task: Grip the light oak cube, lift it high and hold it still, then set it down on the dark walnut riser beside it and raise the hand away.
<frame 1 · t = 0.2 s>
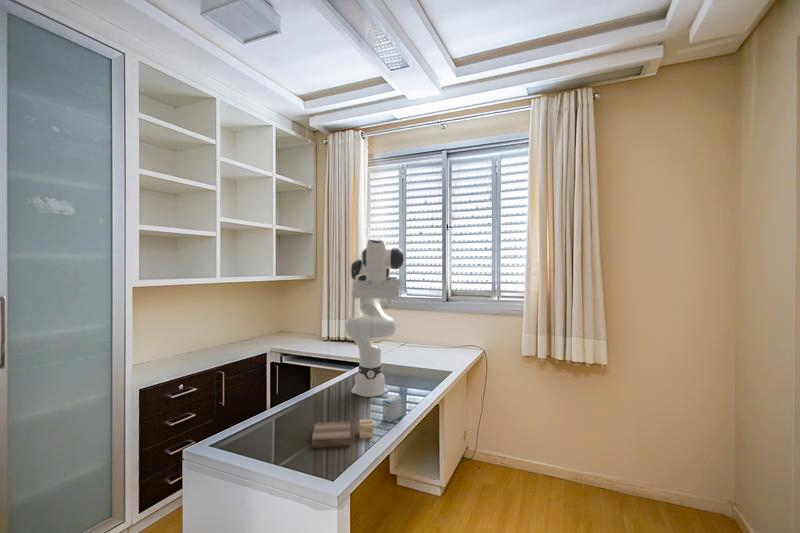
hand: (375, 308, 160), 47 cm above the table, tool pointing down, fingers open, 8 cm apart
medicine box: (392, 418, 161), on the table
oak cube: (365, 435, 146), on the table
walnut riser: (331, 437, 143), on the table
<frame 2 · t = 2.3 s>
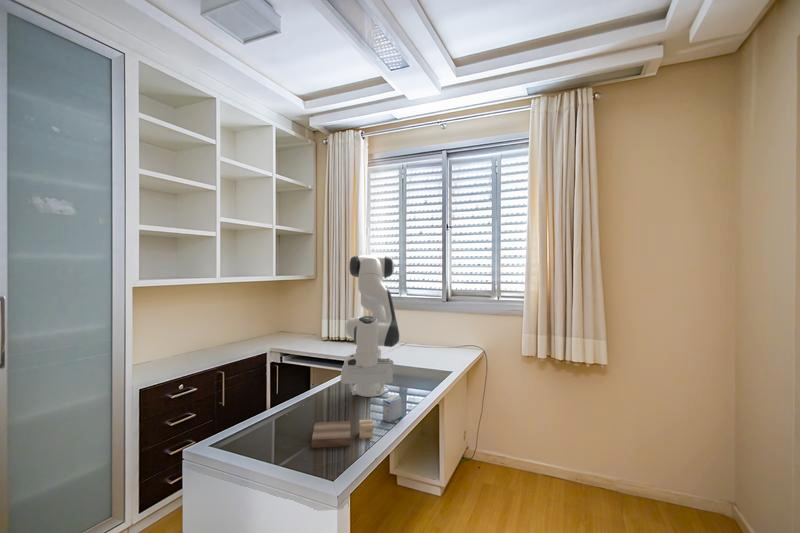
hand: (366, 394, 145), 16 cm above the table, tool pointing down, fingers open, 8 cm apart
nothing on the table moved.
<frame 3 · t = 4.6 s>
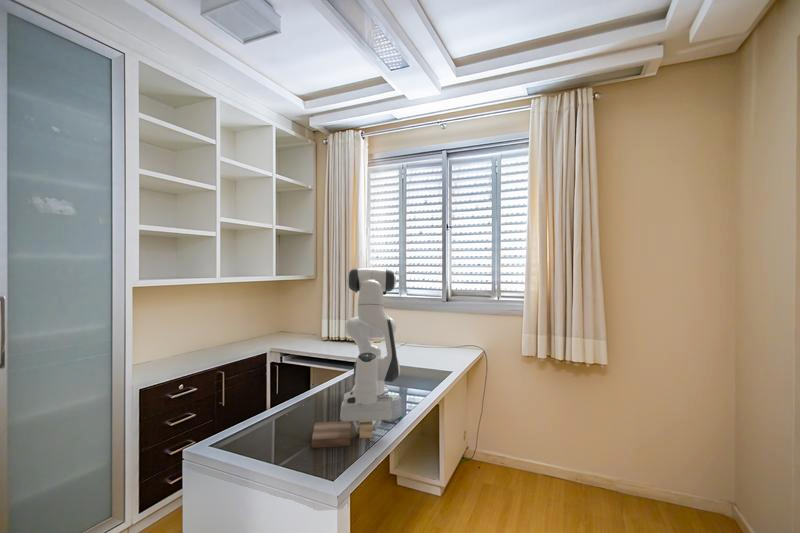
hand: (365, 430, 146), 2 cm above the table, tool pointing down, fingers closed on oak cube, 5 cm apart
oak cube: (365, 434, 146), on the table, touching gripper
everything else where it was.
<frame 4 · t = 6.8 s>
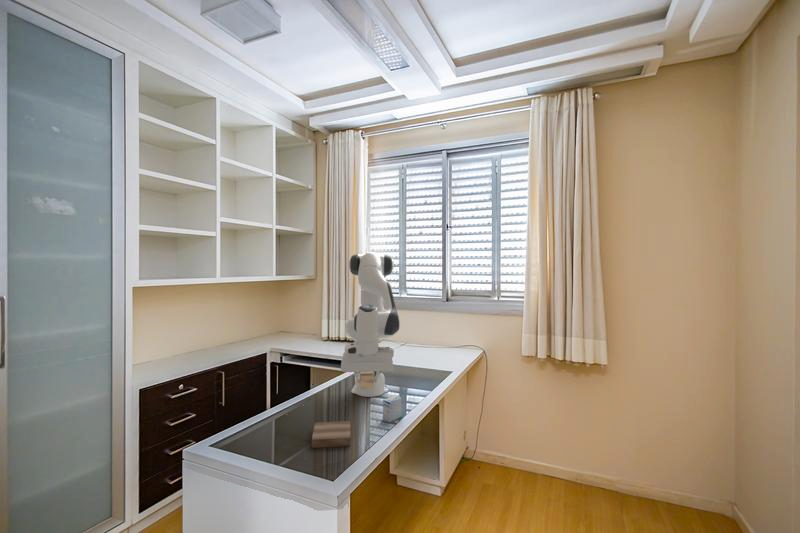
hand: (366, 382, 146), 21 cm above the table, tool pointing down, fingers closed on oak cube, 5 cm apart
oak cube: (366, 386, 146), point 19 cm above the table, touching gripper
everything else where it was.
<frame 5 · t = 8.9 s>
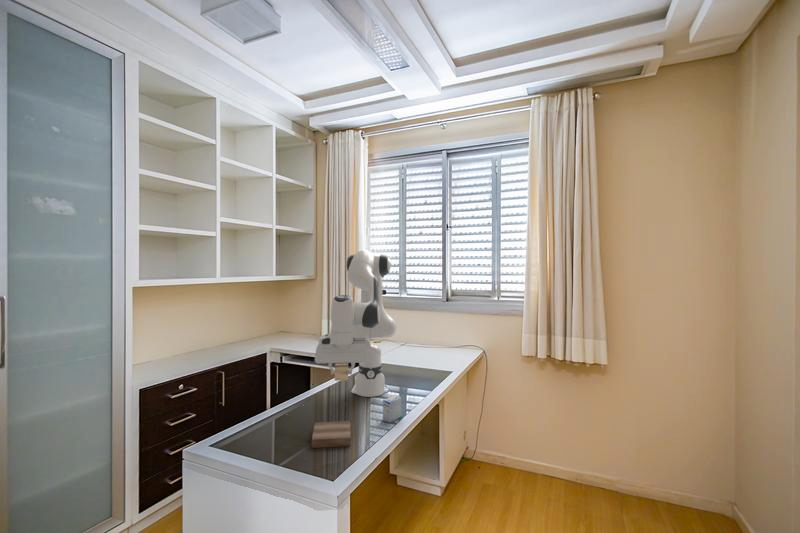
hand: (341, 374, 143), 25 cm above the table, tool pointing down, fingers closed on oak cube, 5 cm apart
oak cube: (341, 378, 143), point 23 cm above the table, touching gripper
everything else where it was.
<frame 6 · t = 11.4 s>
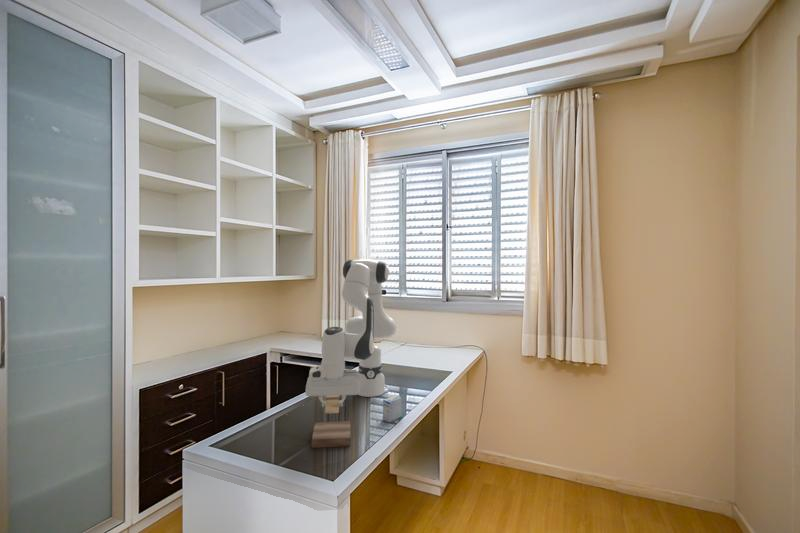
hand: (332, 406, 143), 12 cm above the table, tool pointing down, fingers closed on oak cube, 5 cm apart
oak cube: (332, 410, 143), point 11 cm above the table, touching gripper
everything else where it was.
when the fingers open (6 cm above the table, at t = 13.5 s): oak cube drops 1 cm, resting on walnut riser.
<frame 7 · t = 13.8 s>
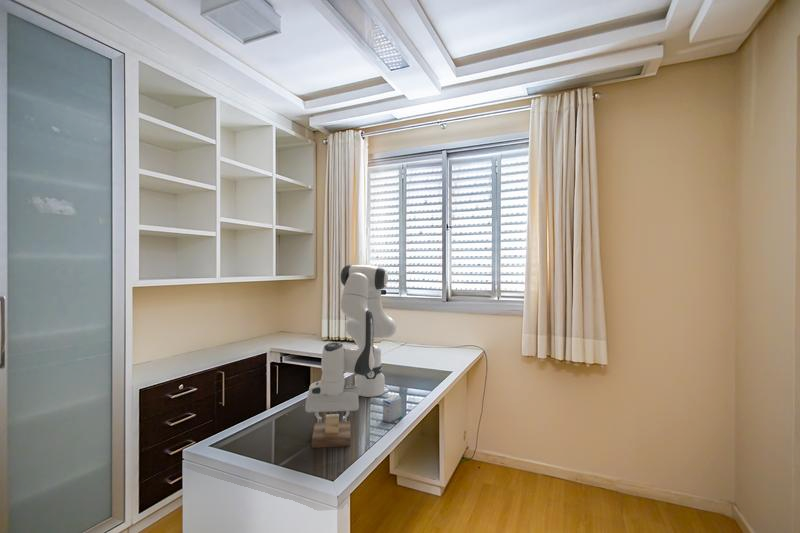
hand: (332, 421, 143), 6 cm above the table, tool pointing down, fingers open, 8 cm apart
oak cube: (332, 429, 143), point 3 cm above the table, touching walnut riser
everything else where it was.
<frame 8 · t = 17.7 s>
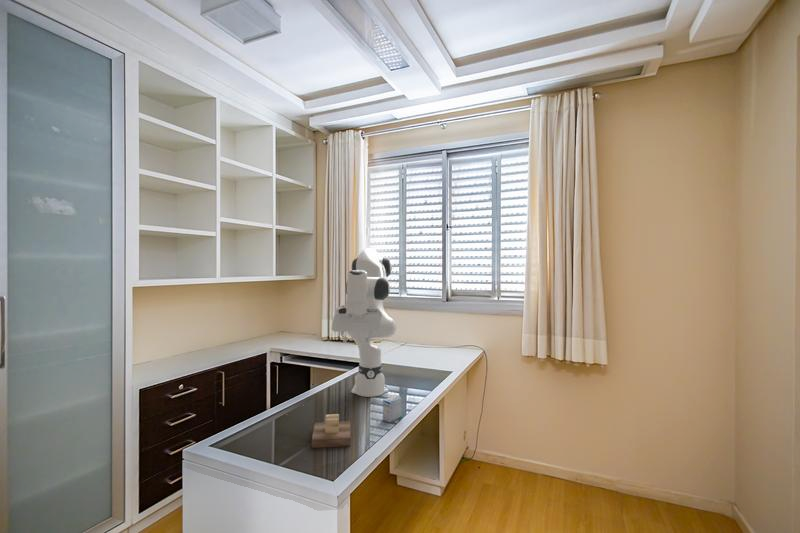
hand: (356, 341, 155), 34 cm above the table, tool pointing down, fingers open, 8 cm apart
nothing on the table moved.
at the end: oak cube inside the target area on the walnut riser (0.0 cm from its centre), point 3.0 cm above the walnut riser's base; oak cube tilted 0°; the gripper is holding nothing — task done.
